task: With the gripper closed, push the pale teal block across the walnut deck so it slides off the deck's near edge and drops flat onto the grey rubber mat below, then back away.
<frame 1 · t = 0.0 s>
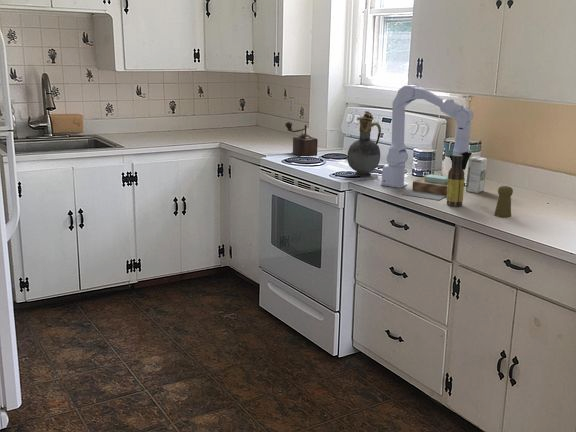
hand: (459, 170, 265), 10 cm above the countertop, tool pointing down, fingers open, 7 cm apart
sauce bottle: (453, 205, 250), on the countertop
pale teal block: (436, 181, 273), point 4 cm above the countertop, touching deck
syrup box: (474, 191, 274), on the countertop
deck: (434, 190, 274), on the countertop
pitcher: (365, 175, 303), on the countertop
mat: (424, 195, 265), on the countertop
manual coffee grinder: (300, 155, 352), on the countertop
cork: (502, 216, 236), on the countertop
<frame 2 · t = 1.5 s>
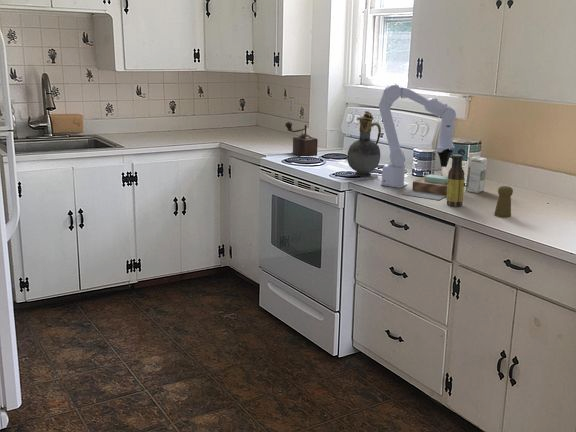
hand: (443, 166, 277), 9 cm above the countertop, tool pointing down, fingers closed
nothing on the countertop moved.
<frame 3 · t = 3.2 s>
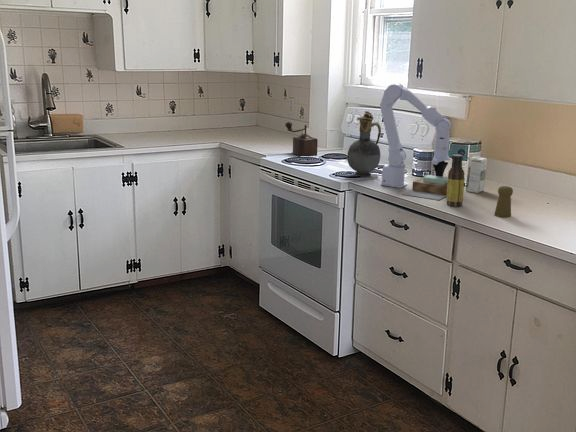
hand: (439, 178, 275), 5 cm above the countertop, tool pointing down, fingers closed
pale teal block: (435, 181, 272), point 4 cm above the countertop, touching gripper
everything else where it was.
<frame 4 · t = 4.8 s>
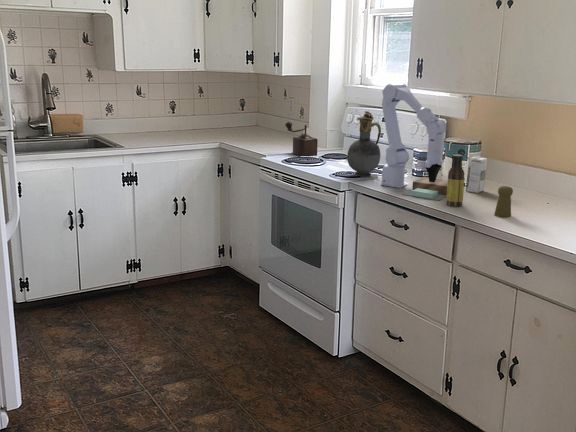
hand: (432, 181, 268), 5 cm above the countertop, tool pointing down, fingers closed
pale teal block: (425, 190, 263), point 2 cm above the countertop, tilted 180°, touching mat
everything else where it was.
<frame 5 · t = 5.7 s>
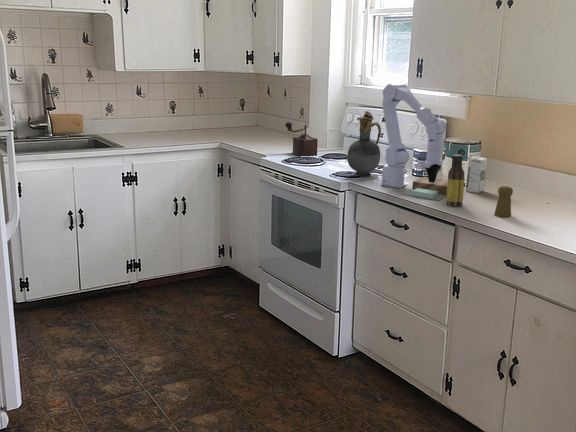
hand: (431, 182, 268), 5 cm above the countertop, tool pointing down, fingers closed
nothing on the countertop moved.
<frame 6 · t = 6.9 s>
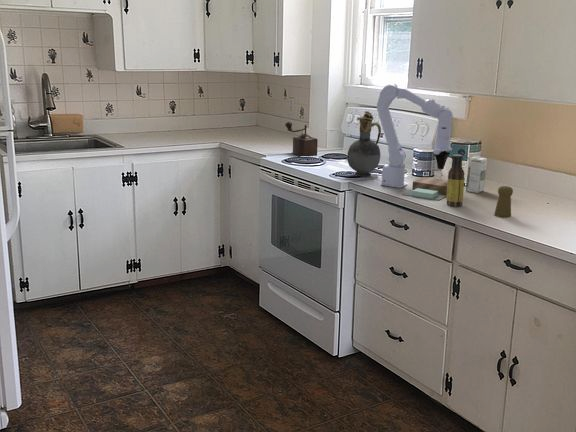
hand: (440, 168, 275), 9 cm above the countertop, tool pointing down, fingers closed
nothing on the countertop moved.
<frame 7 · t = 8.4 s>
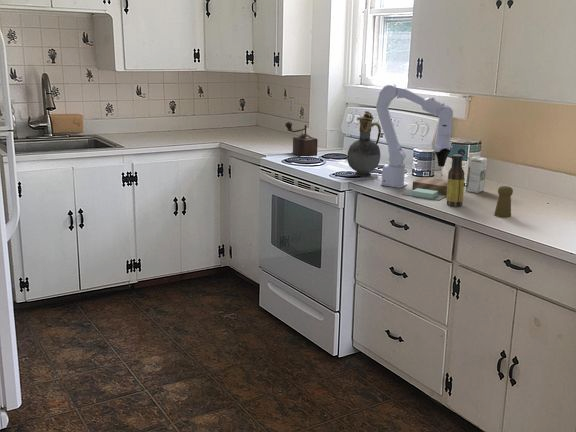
hand: (441, 166, 275), 10 cm above the countertop, tool pointing down, fingers closed
nothing on the countertop moved.
at the end: pale teal block point 2.3 cm above the countertop; pale teal block inside the target area on the mat (1.6 cm from its centre), point 2.3 cm above the mat's base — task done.
